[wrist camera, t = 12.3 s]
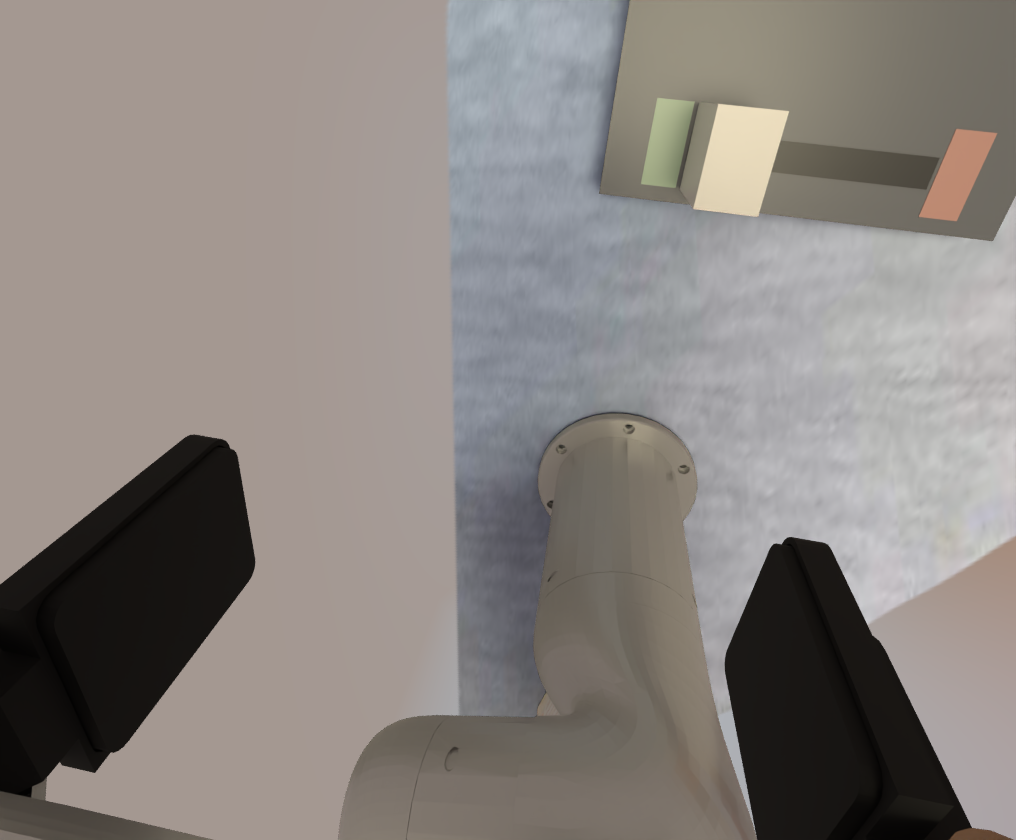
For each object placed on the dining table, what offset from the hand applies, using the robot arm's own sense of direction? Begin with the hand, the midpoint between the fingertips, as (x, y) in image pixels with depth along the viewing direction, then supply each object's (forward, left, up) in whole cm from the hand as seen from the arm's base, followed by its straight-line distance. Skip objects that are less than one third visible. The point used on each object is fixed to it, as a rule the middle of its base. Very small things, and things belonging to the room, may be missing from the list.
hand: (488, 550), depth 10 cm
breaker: (+5, -7, -29) cm, 30 cm away
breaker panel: (+11, -12, -32) cm, 36 cm away
